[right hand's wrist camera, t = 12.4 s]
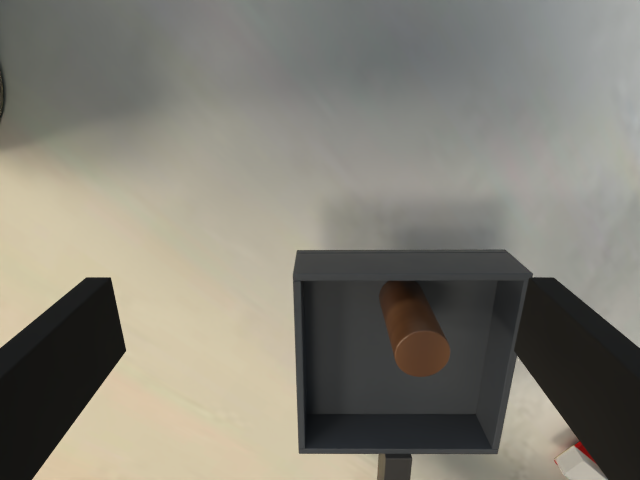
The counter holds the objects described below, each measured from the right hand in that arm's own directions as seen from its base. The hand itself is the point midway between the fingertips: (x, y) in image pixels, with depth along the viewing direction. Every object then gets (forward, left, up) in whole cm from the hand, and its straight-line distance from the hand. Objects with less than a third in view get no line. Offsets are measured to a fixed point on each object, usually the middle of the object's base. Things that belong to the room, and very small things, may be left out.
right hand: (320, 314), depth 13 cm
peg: (+6, -8, -15) cm, 18 cm away
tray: (+6, -19, -16) cm, 25 cm away
